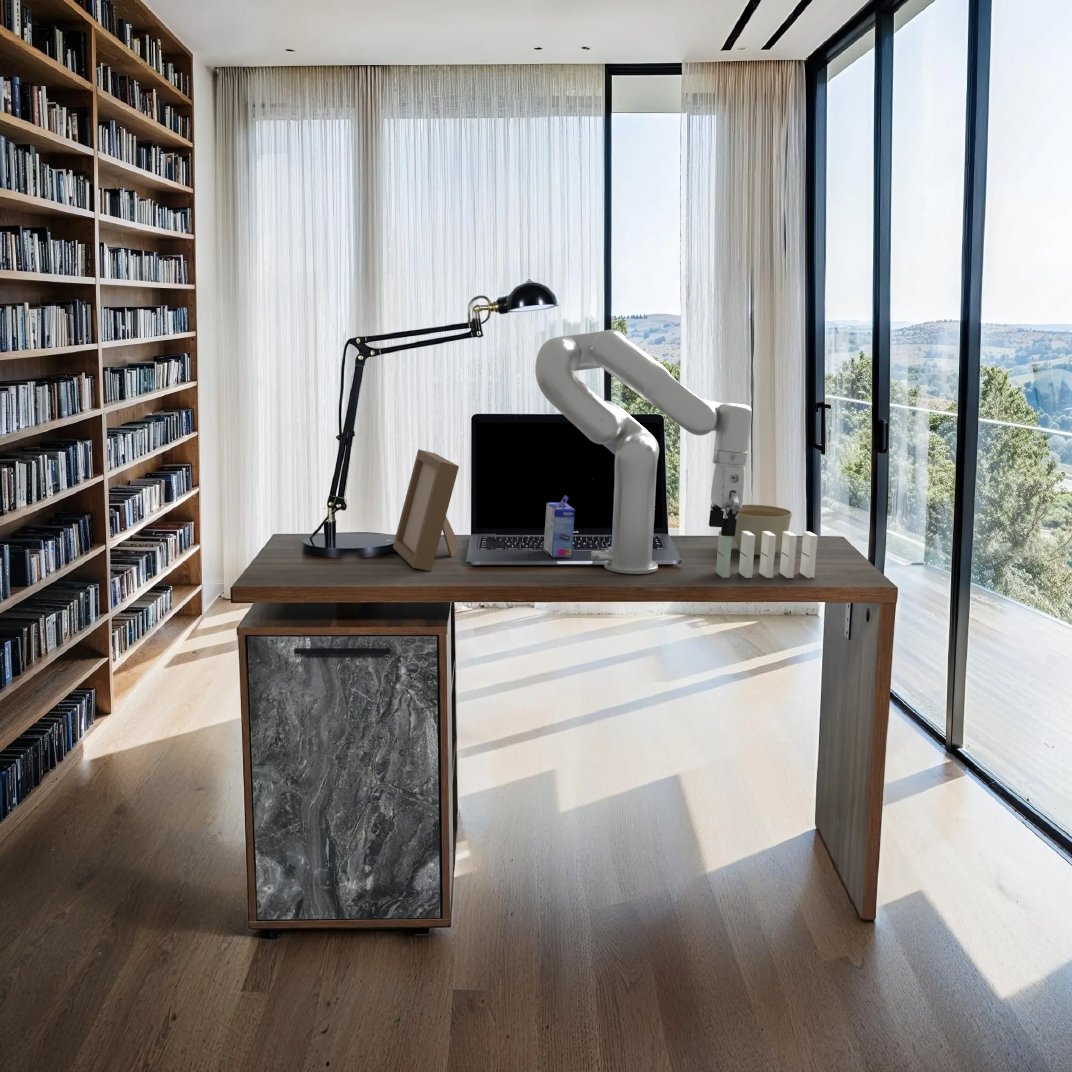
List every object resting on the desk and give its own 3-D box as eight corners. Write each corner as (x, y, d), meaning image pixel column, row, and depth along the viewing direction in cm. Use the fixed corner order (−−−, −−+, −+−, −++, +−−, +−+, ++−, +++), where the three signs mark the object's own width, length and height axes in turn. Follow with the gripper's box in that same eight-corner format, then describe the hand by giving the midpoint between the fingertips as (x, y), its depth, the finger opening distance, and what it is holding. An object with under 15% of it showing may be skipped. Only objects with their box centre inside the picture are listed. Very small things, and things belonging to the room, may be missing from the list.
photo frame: (413, 571, 257) (416, 461, 252) (392, 551, 277) (395, 449, 272) (476, 569, 261) (480, 462, 257) (451, 549, 282) (455, 449, 277)
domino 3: (766, 577, 264) (769, 535, 262) (759, 572, 268) (762, 531, 266) (772, 577, 264) (776, 535, 262) (765, 572, 269) (769, 531, 267)
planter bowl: (712, 546, 295) (715, 505, 293) (764, 543, 302) (768, 503, 299) (747, 560, 281) (750, 517, 279) (801, 556, 287) (804, 514, 285)
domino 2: (745, 577, 263) (748, 535, 261) (738, 572, 268) (741, 530, 266) (752, 577, 263) (755, 535, 261) (745, 572, 268) (748, 531, 266)
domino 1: (722, 572, 267) (725, 530, 265) (729, 577, 262) (732, 535, 260) (716, 572, 267) (718, 530, 265) (722, 577, 262) (725, 535, 260)
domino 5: (807, 577, 265) (811, 535, 263) (799, 572, 270) (803, 531, 268) (814, 577, 265) (817, 535, 263) (806, 572, 270) (809, 531, 268)
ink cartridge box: (573, 558, 276) (576, 499, 273) (551, 558, 275) (553, 499, 272) (564, 549, 285) (567, 492, 282) (543, 549, 284) (545, 492, 281)
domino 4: (786, 577, 264) (790, 535, 262) (779, 572, 269) (782, 531, 267) (793, 577, 264) (797, 535, 262) (786, 572, 269) (789, 531, 267)
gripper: (757, 464, 251) (748, 540, 255) (734, 453, 268) (726, 524, 272) (725, 463, 250) (716, 538, 254) (703, 451, 267) (695, 522, 271)
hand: (721, 531), depth 263 cm, fingers open, 9 cm apart
